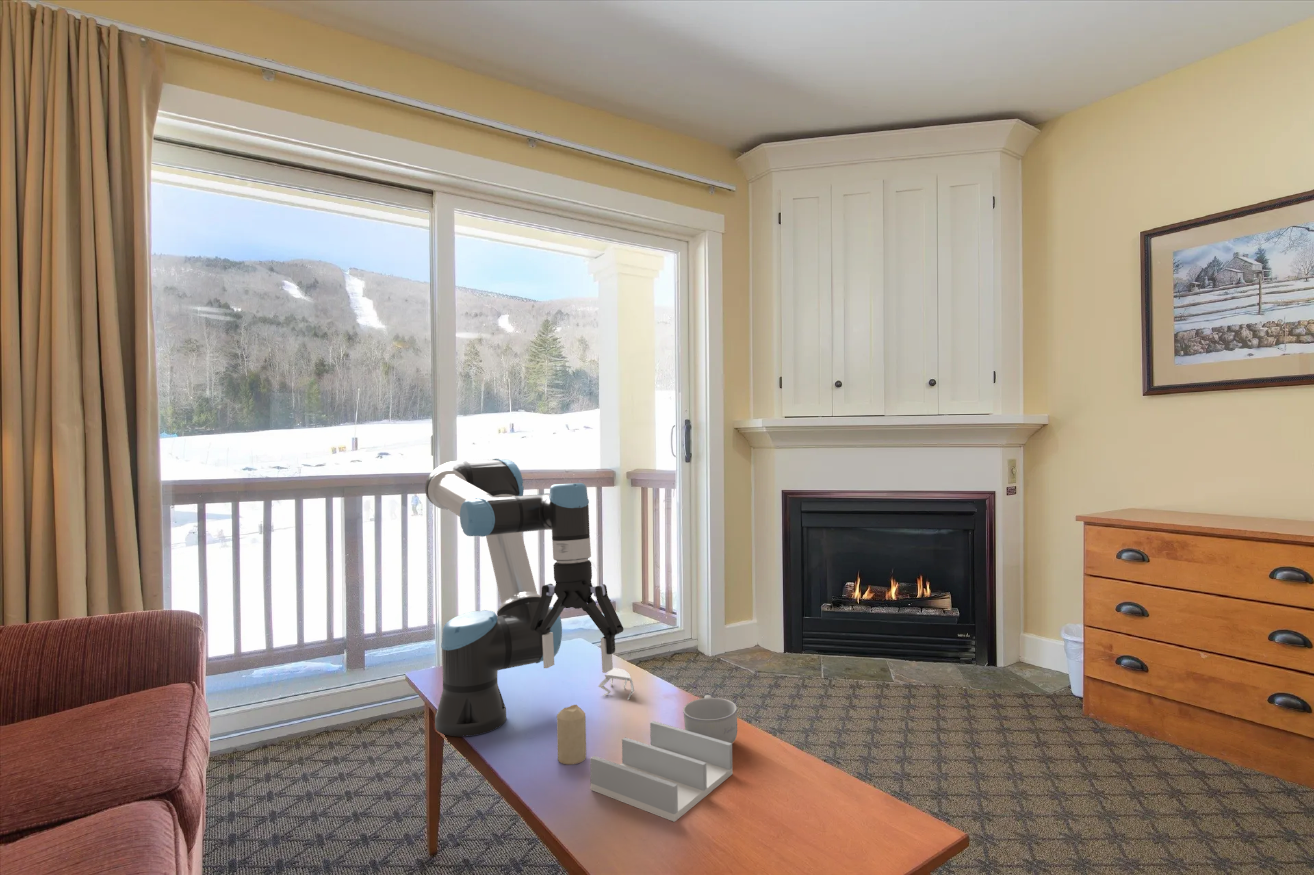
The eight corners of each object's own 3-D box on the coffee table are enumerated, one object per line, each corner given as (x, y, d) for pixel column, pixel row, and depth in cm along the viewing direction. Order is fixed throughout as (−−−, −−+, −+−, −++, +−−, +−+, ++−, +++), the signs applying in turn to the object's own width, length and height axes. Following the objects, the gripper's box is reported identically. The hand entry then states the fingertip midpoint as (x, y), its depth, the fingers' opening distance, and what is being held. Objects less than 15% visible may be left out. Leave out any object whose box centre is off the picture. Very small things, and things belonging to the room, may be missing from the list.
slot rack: (590, 789, 124) (590, 758, 124) (653, 749, 139) (653, 720, 139) (674, 822, 113) (673, 787, 113) (732, 774, 129) (732, 743, 129)
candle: (572, 749, 140) (571, 699, 140) (591, 757, 136) (591, 706, 136) (551, 759, 136) (550, 708, 135) (571, 768, 132) (570, 715, 132)
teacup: (735, 761, 134) (734, 719, 134) (679, 756, 136) (678, 715, 136) (741, 730, 148) (740, 692, 148) (690, 726, 150) (689, 689, 150)
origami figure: (589, 693, 170) (589, 673, 170) (613, 683, 176) (612, 664, 176) (625, 705, 162) (625, 684, 162) (649, 694, 168) (648, 674, 168)
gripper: (510, 563, 141) (514, 669, 140) (617, 562, 130) (624, 678, 129) (532, 558, 148) (536, 660, 147) (636, 557, 137) (642, 667, 136)
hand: (577, 668), depth 138 cm, fingers open, 13 cm apart
